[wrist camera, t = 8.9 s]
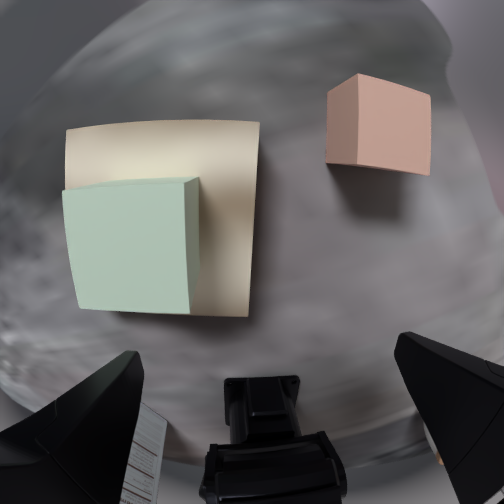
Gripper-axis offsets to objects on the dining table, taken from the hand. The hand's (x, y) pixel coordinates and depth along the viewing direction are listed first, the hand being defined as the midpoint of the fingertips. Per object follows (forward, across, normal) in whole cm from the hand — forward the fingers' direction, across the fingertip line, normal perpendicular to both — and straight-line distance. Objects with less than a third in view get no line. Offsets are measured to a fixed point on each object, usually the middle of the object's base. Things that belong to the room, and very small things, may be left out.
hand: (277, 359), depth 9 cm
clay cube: (+11, -8, -9) cm, 16 cm away
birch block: (+12, +6, -3) cm, 13 cm away
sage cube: (+8, +6, -3) cm, 10 cm away
